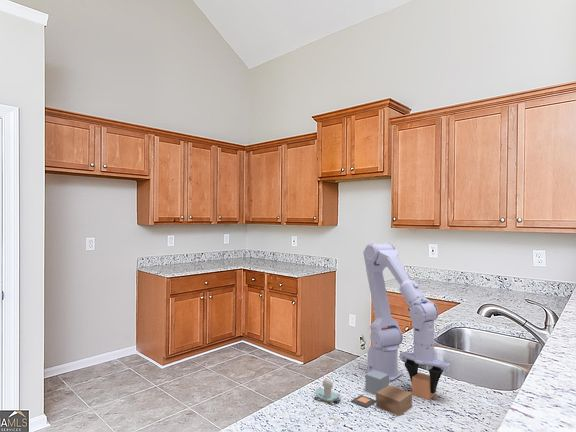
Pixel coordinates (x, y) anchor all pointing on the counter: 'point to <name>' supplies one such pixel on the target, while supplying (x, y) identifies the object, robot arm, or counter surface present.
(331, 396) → the pacifier
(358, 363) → the counter surface
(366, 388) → the slate block
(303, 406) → the counter surface
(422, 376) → the terracotta block
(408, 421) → the counter surface
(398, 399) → the walnut block
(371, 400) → the card
